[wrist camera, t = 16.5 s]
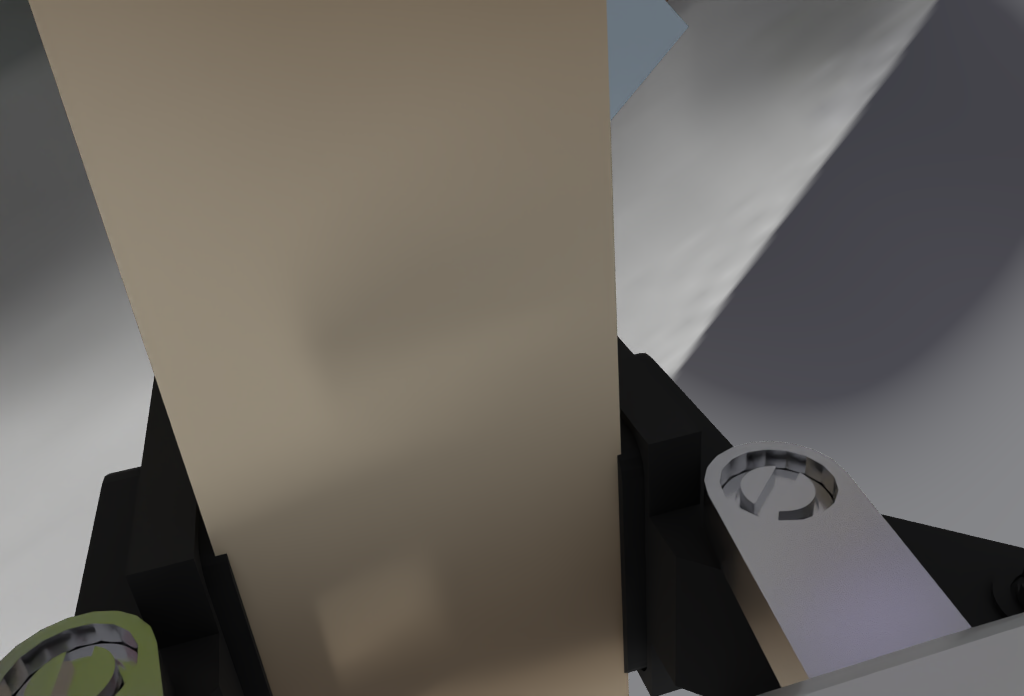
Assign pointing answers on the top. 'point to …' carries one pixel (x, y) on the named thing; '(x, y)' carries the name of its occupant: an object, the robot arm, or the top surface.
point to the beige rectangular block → (376, 319)
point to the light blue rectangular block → (637, 43)
